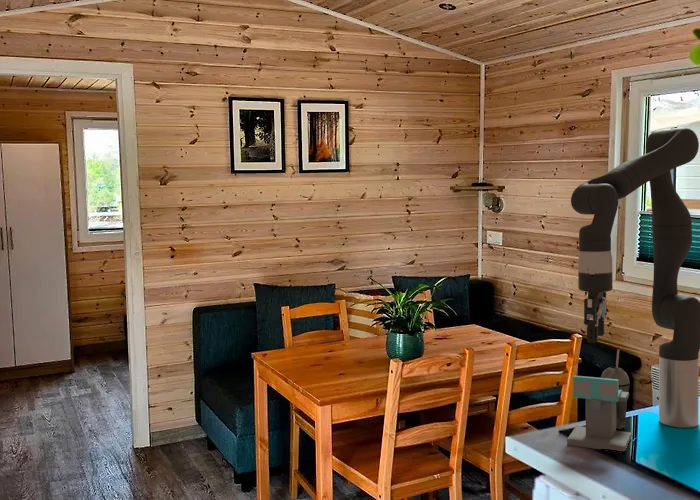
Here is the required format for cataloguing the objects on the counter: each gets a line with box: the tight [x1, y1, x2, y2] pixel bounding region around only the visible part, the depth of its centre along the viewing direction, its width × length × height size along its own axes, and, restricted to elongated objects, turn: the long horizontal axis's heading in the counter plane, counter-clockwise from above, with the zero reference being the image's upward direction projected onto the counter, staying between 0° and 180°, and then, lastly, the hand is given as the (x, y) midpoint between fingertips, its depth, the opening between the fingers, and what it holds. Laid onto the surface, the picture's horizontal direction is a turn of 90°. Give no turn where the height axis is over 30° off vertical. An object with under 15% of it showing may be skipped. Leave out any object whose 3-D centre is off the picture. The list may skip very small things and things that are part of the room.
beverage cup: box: [600, 348, 631, 428], centre depth 181 cm, size 7×7×20 cm
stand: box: [566, 391, 633, 451], centre depth 171 cm, size 10×13×12 cm
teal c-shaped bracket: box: [572, 375, 622, 402], centre depth 170 cm, size 7×10×5 cm
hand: (595, 339), depth 166 cm, fingers open, 8 cm apart
